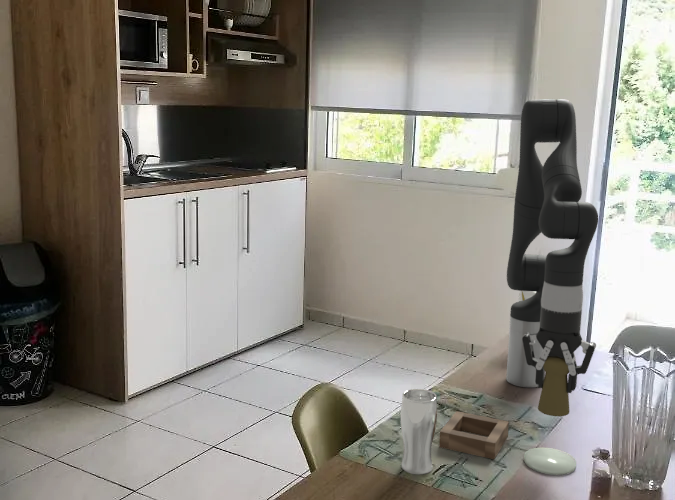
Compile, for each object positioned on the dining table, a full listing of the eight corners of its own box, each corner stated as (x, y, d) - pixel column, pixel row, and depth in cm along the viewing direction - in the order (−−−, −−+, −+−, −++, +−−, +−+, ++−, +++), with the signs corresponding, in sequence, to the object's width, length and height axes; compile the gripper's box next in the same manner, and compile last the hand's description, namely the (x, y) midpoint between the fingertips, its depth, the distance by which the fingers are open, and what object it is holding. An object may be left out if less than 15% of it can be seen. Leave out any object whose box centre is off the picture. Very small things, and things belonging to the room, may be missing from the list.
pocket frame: (455, 425, 164) (456, 411, 163) (507, 436, 159) (508, 421, 159) (439, 447, 154) (439, 431, 153) (494, 459, 149) (495, 443, 148)
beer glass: (425, 479, 141) (428, 405, 138) (392, 469, 144) (395, 397, 141) (440, 464, 147) (443, 393, 144) (408, 455, 150) (411, 385, 147)
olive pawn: (571, 417, 142) (575, 363, 140) (538, 414, 143) (542, 360, 141) (568, 405, 148) (572, 353, 146) (536, 402, 149) (540, 350, 147)
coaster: (529, 447, 155) (529, 443, 154) (579, 457, 150) (579, 454, 150) (518, 467, 146) (519, 464, 146) (571, 479, 141) (571, 475, 141)
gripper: (603, 305, 142) (595, 389, 145) (527, 296, 148) (522, 376, 151) (598, 315, 135) (590, 403, 139) (519, 305, 141) (514, 389, 145)
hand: (555, 388), depth 145 cm, fingers closed on olive pawn, 5 cm apart
